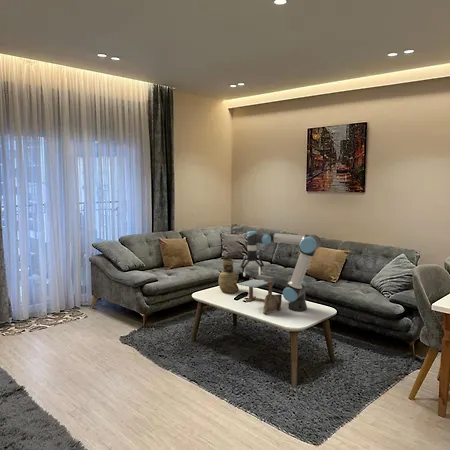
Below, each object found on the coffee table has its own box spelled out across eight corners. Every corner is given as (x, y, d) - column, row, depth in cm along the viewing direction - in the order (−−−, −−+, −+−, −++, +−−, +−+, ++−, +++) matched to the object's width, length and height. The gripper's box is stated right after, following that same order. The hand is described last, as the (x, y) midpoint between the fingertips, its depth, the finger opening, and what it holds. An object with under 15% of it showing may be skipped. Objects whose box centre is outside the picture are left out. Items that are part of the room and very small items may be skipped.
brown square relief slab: (265, 315, 313) (265, 296, 311) (262, 313, 317) (262, 294, 315) (282, 311, 322) (282, 293, 320) (278, 309, 325) (279, 291, 324)
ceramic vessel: (244, 292, 374) (245, 260, 370) (225, 295, 363) (225, 262, 359) (233, 287, 390) (233, 256, 386) (214, 290, 379) (214, 259, 375)
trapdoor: (274, 285, 347) (274, 277, 346) (254, 291, 320) (255, 282, 320) (258, 282, 356) (258, 274, 356) (238, 288, 329) (238, 279, 329)
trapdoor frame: (274, 302, 344) (275, 280, 341) (267, 306, 334) (268, 283, 331) (252, 297, 356) (253, 276, 354) (245, 301, 346) (246, 279, 344)
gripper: (264, 248, 337) (264, 273, 339) (236, 250, 330) (236, 275, 332) (267, 249, 330) (267, 275, 332) (239, 251, 323) (239, 277, 325)
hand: (252, 275), depth 332 cm, fingers open, 13 cm apart
